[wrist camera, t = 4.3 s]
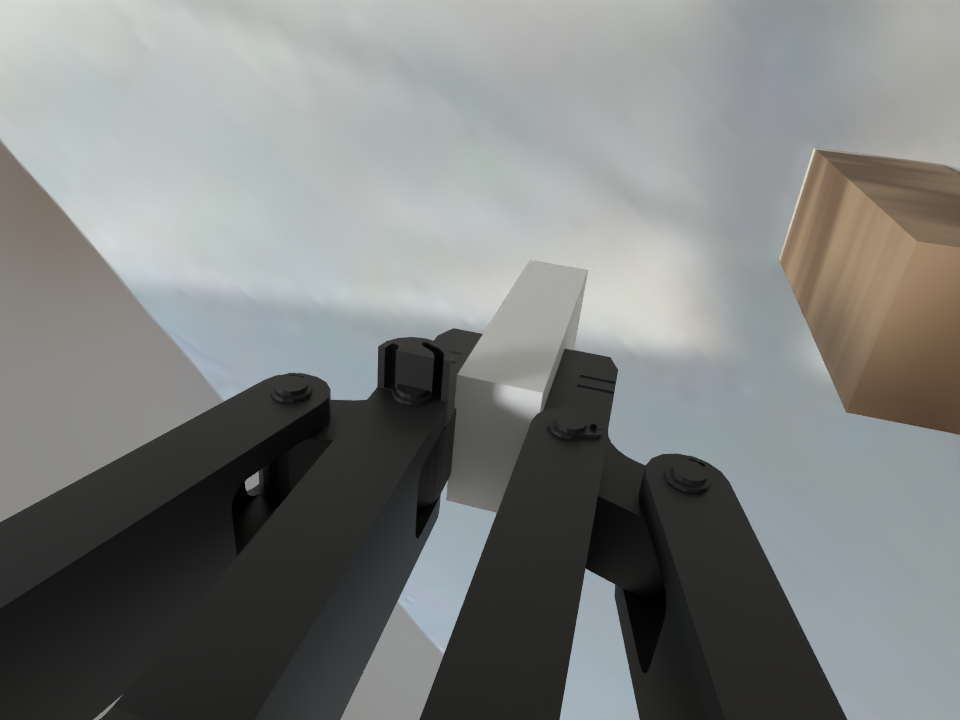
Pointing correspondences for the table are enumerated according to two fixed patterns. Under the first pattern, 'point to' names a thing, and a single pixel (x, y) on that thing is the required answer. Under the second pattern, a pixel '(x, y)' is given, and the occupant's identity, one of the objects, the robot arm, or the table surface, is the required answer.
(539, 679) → the robot arm
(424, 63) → the table surface
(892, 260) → the walnut block
